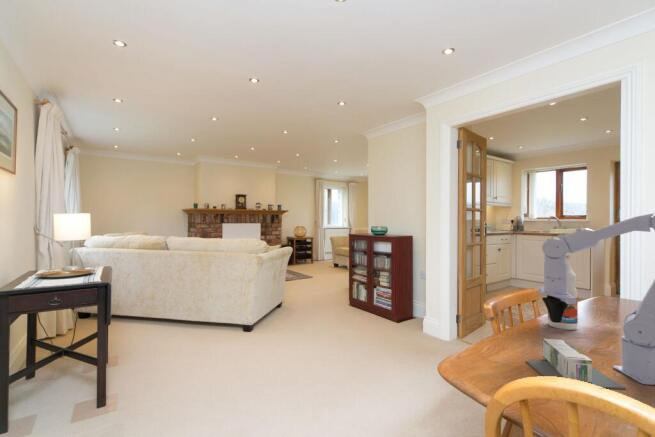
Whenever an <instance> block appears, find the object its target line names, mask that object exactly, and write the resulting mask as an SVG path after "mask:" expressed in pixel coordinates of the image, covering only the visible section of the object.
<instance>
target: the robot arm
mask: <svg viewBox="0 0 655 437" xmlns="http://www.w3.org/2000/svg"><path fill="white" fill-rule="evenodd" d="M651 229H653V231H655V213H654V212H653V213H649V214H642V215H637V216H633V217H630V218H628V219H625V220H624V219H623V220H621V221H618V222H615V223H612V224H609V225H606V226H603V227H599V228H597V229H591V228H587V227H585V228H582V227H579V228H576V229H575V231H572V232H569V233H566V234H558V235H557V238H556V237H555V238H549V239H547V240H546V241H545V242H544V243H543V244H542V246H541V249H542V252H543V254H544V256H543V259H544V262H543V286H538V288H537V289H538V290H537V291H538V292H537V293H538V294H542V295H545V296H546V297H545V296H543V297H542V301H543V303H544V305H545V307H546V309H547V314H548V313H549V316H550V320H551V322H554V323H561V320H562V316H563V313H564V311H565V309H566V307H567V306H568V305H569V304H576V303H575V297H573V296H571V295H570V294H568V293H567V263H566V255H565V254H567V255H568V253H569V254H573V253H577V252H581V251H584V250H588V249H592V248H595V247H597V246H598V244H599V242H600V241H602V240H606V239H608V238H612V237H617V236H619V235H620V236H621V235H624V234H628V233H632V232H635V231H636V232H648V233H650V232H651ZM635 308H636V309H635V310H634V311H633V312H631V313H629V314H627V315H626V316H625V318H624V325H623V327H622V328H623V333H624V334H623V335H621V365H613V367H612V368H613V369H615V370H617V371H618V372H620V373H622V374H623V375H626V376H627V377H630V378H631V379H633V380H635V381H636V382H638V383H640V384H643V385H648V386H649V385H653V386H654V385H655V279H653V281H652V283H651V284H650V287H649V288H648V289H647V292H646V293H645V295H644V296H643V299H642V300H641V302H640V303H639V304H638V305H637V307H635Z"/></svg>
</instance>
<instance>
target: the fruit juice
mask: <svg viewBox="0 0 655 437" xmlns="http://www.w3.org/2000/svg"><path fill="white" fill-rule="evenodd" d="M565 255H566V263H567V293H568V294H570V295H571V296H573V297H575V303H576V304H569V305H568V306H567V307H566V309H565V311H564V313H563V316H562V320H561V323H554V322H551V320H550V316H549V313H548V312H547V324H548V325H549V326H550V327H553V328H555V329H560V330H566V331H567V330H568V331H574V330H578V324H579V323H578V320H579V318H578V303H579V302H578V289H577V288H576V284H577V281H578V278H577V277H578V276H577V274H576V273H575V271H574V270H573V269H572V266H571V264H570V258H571V255H570V254H568V253H567V254H565Z"/></svg>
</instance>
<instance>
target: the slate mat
mask: <svg viewBox="0 0 655 437" xmlns="http://www.w3.org/2000/svg"><path fill="white" fill-rule="evenodd" d="M525 363H526V364H528V365H530V367H532V368H533V369H534V370H535V371H536V372H538V373H539V374H540V375H542V376H543V377H544V376H557V377H563V376H562V375H561V374H560V373H559V372H558V371H557V370H556V369H555V368H554V367H553V366H552V365H550V364H549V363H548V362H547V361H546V360H533V359H532V360H527V359H526V360H525ZM588 383H591V384H595V385H597V386H601V387H605V388H604V389H606V388H608V389H609V390H610V389H614V390H626V387H625V385H624V386H623V385H622V384H621V383H619V382H617V381H616V380H614V379H612V378H610V377H609V376H607V375H606V374H604V373H602V371H601V372H600V371H599V370H597V369H596V368H594V367H593V366H592V382H588Z"/></svg>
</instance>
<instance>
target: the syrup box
mask: <svg viewBox="0 0 655 437" xmlns="http://www.w3.org/2000/svg"><path fill="white" fill-rule="evenodd" d="M542 358H543V359H544V361H547V362H548V363H549V364H550V365H552V366H553V367H554V368H555V369H556V370H557V371H558V372H559V373H560V374H561V375H562V376H563V377H565V378H571V379H577V380H580V381H584V382H592V367H593V359H591V358H589V357H588V356H587V355H585V354H584V353H582V352H581V351H579V350H578V349H577V348H576V347H574V346H573V345H571V344H570V343H569V342H567V341H566V340H564V339H555V338H554V339H553V338H542Z"/></svg>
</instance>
